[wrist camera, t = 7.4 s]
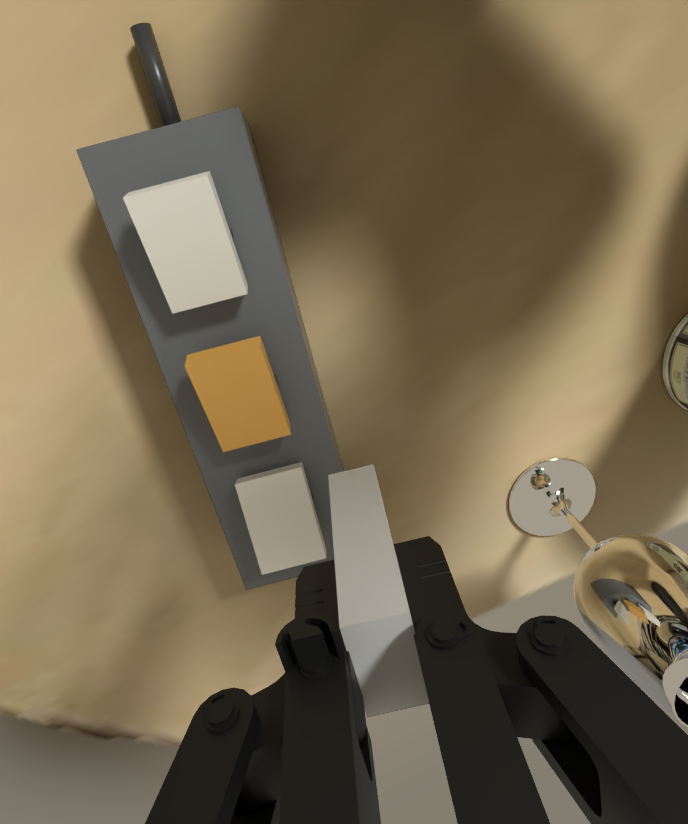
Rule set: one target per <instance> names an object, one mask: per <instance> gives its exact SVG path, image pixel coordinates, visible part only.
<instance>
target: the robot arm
mask: <svg viewBox="0 0 688 824" xmlns="http://www.w3.org/2000/svg"><path fill="white" fill-rule="evenodd" d="M328 479H329V492H330V506H331V519H332V533H333V547H334V560H330V561H326V562H321V563H317V564H313V565H308V566H304V567H303V569H302V571H301V572H300V574H299V576H298V578H297V580H296V598H295V608H296V610H295V619H294V620H292V621H291V622H289V623H288V624H287V625H285V626H284V628H283V629H282V630H281V631H280V633H279V634H278V637H277V640H276V643H275V645H276V648H277V651H278V653H279V656H280V659H281V661H282V664H283V667H284V669H285V674H284V675H283V676H282V677H281V678H280V679H278V680H277V681H276V682H275V683H273V684H272V685H270V686H269V687H267V688H265V689H263V690H261V691H259V692H257V693H256V694H254V695H252V696H251V695H250V694H248V693H247V692H246V691H245V690H243V689H238V688H229V689H224V690H221V691H219V692H217V693H215V694H213V695H212V696H210V697H209V698H208V699H207V700H206V701H205V702H203V703H202V704H201V705H200V707H199V708H198V710H197V711H196V713H195V715H194V716H193V718H192V721H191V723H190V725H189V727H188V729H187V732H186V734H185V736H184V738H183V741H182V743H181V745H180V747H179V749H178V752H177V754H176V756H175V759H174V761H173V763H172V765H171V767H170V769H169V772H168V774H167V776H166V778H165V780H164V783H163V785H162V787H161V789H160V792H159V794H158V796H157V798H156V800H155V803H154V805H153V807H152V809H151V811H150V814H149V816H148V818H147V821H146V823H145V824H381V820H380V812H379V804H378V795H377V787H376V779H375V771H374V762H373V753H372V745H371V739H370V736H369V733H368V730H367V726H366V720H365V712H366V715H367V717H371V716H376V715H380V714H385V713H389V712H393V711H398V710H402V709H407V708H411V707H416V706H420V705H425V704H430V708H431V712H432V716H433V720H434V725H435V729H436V733H437V737H438V742H439V746H440V750H441V754H442V759H443V763H444V767H445V771H446V776H447V779H448V784H449V788H450V793H451V796H452V801H453V805H454V809H455V813H456V818H457V822H458V824H550V822H549V819H548V817H547V814H546V812H545V809H544V807H543V804H542V801H541V799H540V796H539V793H538V791H537V788H536V786H535V783H534V780H533V778H532V775H531V772H530V770H529V767H528V765H527V762H526V759H525V757H524V754H523V752H522V749H521V746H520V744H519V741H518V738H517V737H522V738H531V739H533V742H534V743H535V745H536V746H537V748H538V749H539V750H540V752H541V753H542V755H543V756H544V757H545V759H546V760H547V762H548V763H549V765H550V766H551V768H552V769H553V770H554V772H555V773H556V775H557V776H558V777H559V779H560V780H561V782H562V783H563V785H564V786H565V787H566V789H567V790H568V792H569V793H570V795H571V796H572V797H573V799H574V800H575V801H576V803H577V804H578V806H579V807H580V809H581V810H582V811H583V813H584V814H585V816H586V817H587V819H588V820H589V821H590V823H591V824H688V735H687V734H686V733H685V732H684V731H683V730H682V729H681V728H680V727H679V726H678V725H677V724H676V723H675V722H674V721H672V719H670V717H668V715H666V714H665V713H664V712H663V711H662V710H661V709H660V708H659V707H658V706H657V705H656V704H655V703H654V702H653V701H652V700H651V699H650V698H649V697H648V696H647V695H646V694H645V693H644V692H643V691H642V690H641V689H640V688H639V687H638V686H637V685H636V684H635V683H634V682H633V681H632V680H631V679H630V678H629V677H628V676H627V675H626V674H625V673H624V672H623V671H622V670H621V669H620V668H619V667H618V666H617V665H616V664H614V662H613V661H611V660H610V658H609V657H607V655H605V654H604V653H603V652H602V651H601V650H600V649H599V648H598V647H597V646H596V645H595V644H594V643H593V642H592V641H591V640H590V639H589V638H588V637H587V636H586V635H585V634H584V633H583V632H582V631H581V630H580V629H579V628H578V627H576V626H575V625H574V624H572V623H571V622H569V621H568V620H565V619H562V618H559V617H556V616H539V617H535V618H531V619H529V620H528V621H526V622H525V623H523V624H522V625H521V626H520V628H519V630H518V632H517V633H501V632H494V631H490V630H487V629H484V628H481V627H480V626H478V625H477V624H475V623H474V622H473V621H472V620H471V619H470V618H469V617H468V615H467V613H466V612H465V609H464V606H463V604H462V601H461V598H460V596H459V593H458V590H457V588H456V585H455V582H454V580H453V577H452V575H451V573H450V569H449V567H448V564H447V562H446V559H445V556H444V553H443V551H442V548H441V546H440V545H439V544H438V543H437V542H435V541H434V540H433V539H432V538H431V537H429V536H427V537H423V538H419V539H414V540H410V541H406V542H401V543H397V544H393V541H392V537H391V533H390V529H389V524H388V520H387V516H386V512H385V508H384V504H383V500H382V496H381V492H380V488H379V484H378V480H377V475H376V471H375V467H374V464H372V465H368V466H364V467H360V468H356V469H351V470H347V471H343V472H339V473H335V474H330V475H328ZM364 709H365V710H364Z"/></svg>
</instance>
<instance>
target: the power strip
mask: <svg viewBox="0 0 688 824" xmlns="http://www.w3.org/2000/svg"><path fill="white" fill-rule="evenodd" d="M130 30H131V33H132V36H133V39H134V42H135V45H136V48H137V51H138V54H139V57H140V60H141V63H142V66H143V69H144V73H145V76H146V79H147V82H148V85H149V88H150V91H151V94H152V97H153V100H154V103H155V106H156V109H157V112H158V115H159V118H160V121H161V124H162V127H159V128H156V129H152V130H148V131H144V132H141V133H137V134H133V135H129V136H125V137H122V138H118V139H114V140H110V141H107V142H103V143H99V144H95V145H92V146H88V147H84V148H80V149H77V150H76V151H77V153H78V156H79V158H80V161H81V164H82V166H83V169H84V171H85V174H86V176H87V179H88V182H89V184H90V187H91V189H92V192H93V195H94V197H95V200H96V202H97V205H98V207H99V210H100V213H101V215H102V218H103V220H104V223H105V226H106V228H107V231H108V233H109V236H110V239H111V241H112V244H113V246H114V249H115V251H116V254H117V257H118V259H119V262H120V264H121V267H122V270H123V272H124V275H125V277H126V280H127V282H128V285H129V288H130V290H131V293H132V295H133V298H134V301H135V303H136V306H137V308H138V311H139V313H140V316H141V319H142V321H143V324H144V326H145V329H146V332H147V334H148V337H149V339H150V342H151V345H152V347H153V350H154V352H155V355H156V357H157V360H158V363H159V365H160V368H161V370H162V373H163V376H164V378H165V381H166V383H167V386H168V388H169V391H170V394H171V396H172V399H173V401H174V404H175V407H176V409H177V412H178V414H179V417H180V419H181V422H182V425H183V427H184V430H185V432H186V435H187V438H188V440H189V443H190V445H191V448H192V451H193V453H194V456H195V458H196V461H197V463H198V466H199V469H200V471H201V474H202V476H203V479H204V482H205V484H206V487H207V489H208V492H209V494H210V497H211V500H212V502H213V505H214V507H215V510H216V513H217V515H218V518H219V520H220V523H221V525H222V528H223V531H224V533H225V536H226V538H227V541H228V544H229V546H230V549H231V551H232V554H233V556H234V559H235V562H236V564H237V567H238V569H239V572H240V575H241V577H242V580H243V582H244V585H245V588H246V590H247V589H251V588H255V587H259V586H263V585H267V584H271V583H274V582H278V581H282V580H286V579H290V578H294V577H298V576H299V574H300V572H301V571H302V569H303V567H304V566H308V565H313V564H317V563H321V562H326V561H330V560H334V547H333V533H332V519H331V506H330V492H329V479H328V475H330V474H335V473H339V472H343V471H344V469H343V465H342V462H341V458H340V454H339V451H338V447H337V443H336V440H335V436H334V432H333V429H332V425H331V422H330V418H329V414H328V411H327V407H326V403H325V400H324V396H323V393H322V389H321V385H320V382H319V378H318V374H317V371H316V367H315V364H314V360H313V356H312V353H311V349H310V345H309V342H308V338H307V334H306V331H305V327H304V324H303V320H302V316H301V313H300V309H299V305H298V302H297V298H296V295H295V291H294V287H293V284H292V280H291V276H290V273H289V269H288V266H287V262H286V258H285V255H284V251H283V247H282V244H281V240H280V237H279V233H278V229H277V226H276V222H275V218H274V215H273V211H272V207H271V204H270V200H269V197H268V193H267V189H266V186H265V182H264V178H263V175H262V171H261V168H260V164H259V160H258V157H257V153H256V149H255V146H254V142H253V139H252V135H251V131H250V128H249V124H248V122H247V120H246V118H245V116H244V115H243V113H242V111H241V109H240V107H239V106H238V107H235V108H231V109H227V110H223V111H220V112H216V113H212V114H208V115H205V116H201V117H197V118H193V119H190V120H186V121H182V122H181V119H180V116H179V112H178V109H177V106H176V103H175V100H174V97H173V93H172V90H171V87H170V84H169V81H168V78H167V74H166V71H165V68H164V65H163V62H162V59H161V56H160V52H159V49H158V46H157V43H156V40H155V37H154V33H153V30H152V27H151V24H149V23H139V24H136V25H133V26H132V27H131V28H130ZM208 171H210V173H211V176H212V179H213V182H214V185H215V188H216V191H217V194H218V197H219V200H220V203H221V206H222V209H223V212H224V215H225V218H226V221H227V224H228V227H229V230H230V233H231V236H232V239H233V242H234V245H235V248H236V251H237V254H238V257H239V260H240V263H241V266H242V269H243V272H244V275H245V278H246V281H247V284H248V294H246V295H242V296H238V297H234V298H230V299H227V300H223V301H219V302H215V303H211V304H208V305H204V306H200V307H196V308H192V309H189V310H185V311H181V312H177V313H173V314H172V312H171V309H170V307H169V305H168V302H167V300H166V297H165V295H164V293H163V290H162V288H161V286H160V283H159V281H158V279H157V276H156V274H155V272H154V269H153V267H152V265H151V262H150V260H149V258H148V255H147V253H146V251H145V248H144V246H143V244H142V241H141V239H140V237H139V234H138V232H137V230H136V227H135V225H134V223H133V220H132V218H131V216H130V213H129V211H128V209H127V206H126V204H125V202H124V199H123V197H124V196H125V195H126V194H127V193H128V192H132V191H136V190H140V189H143V188H147V187H151V186H155V185H158V184H162V183H166V182H170V181H174V180H177V179H181V178H185V177H189V176H192V175H196V174H200V173H204V172H208ZM257 336H261V339H262V342H263V345H264V348H265V351H266V354H267V357H268V360H269V363H270V366H271V369H272V371H273V374H274V377H275V380H276V383H277V386H278V389H279V392H280V395H281V398H282V401H283V403H284V406H285V409H286V412H287V415H288V418H289V421H290V429H291V435H288V436H284V437H280V438H276V439H272V440H268V441H265V442H261V443H257V444H253V445H249V446H245V447H241V448H238V449H234V450H230V451H226V452H223V450H222V448H221V446H220V444H219V442H218V439H217V437H216V435H215V433H214V430H213V428H212V426H211V424H210V422H209V419H208V417H207V415H206V413H205V411H204V408H203V406H202V404H201V402H200V399H199V397H198V395H197V393H196V391H195V388H194V386H193V384H192V382H191V380H190V377H189V375H188V373H187V371H186V368H185V362H186V358H187V355H188V354H192V353H196V352H200V351H204V350H207V349H211V348H215V347H219V346H223V345H226V344H230V343H234V342H238V341H242V340H246V339H249V338H253V337H257ZM299 462H302V464H303V468H304V471H305V475H306V478H307V482H308V486H309V489H310V493H311V496H312V500H313V504H314V507H315V511H316V514H317V518H318V521H319V525H320V529H321V532H322V536H323V539H324V543H325V547H326V559H322V560H318V561H314V562H310V563H306V564H302V565H298V566H294V567H291V568H287V569H283V570H279V571H275V572H271V573H267V574H263V575H262V574H261V570H260V567H259V564H258V560H257V557H256V554H255V550H254V547H253V544H252V540H251V537H250V534H249V530H248V527H247V524H246V521H245V517H244V514H243V511H242V507H241V504H240V501H239V497H238V494H237V491H236V487H235V483H236V481H237V479H238V478H242V477H245V476H249V475H253V474H257V473H261V472H265V471H269V470H272V469H276V468H280V467H284V466H288V465H292V464H296V463H299Z"/></svg>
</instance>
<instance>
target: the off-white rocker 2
mask: <svg viewBox="0 0 688 824" xmlns="http://www.w3.org/2000/svg"><path fill="white" fill-rule="evenodd" d="M235 487H236V491H237V494H238V497H239V501H240V504H241V507H242V511H243V514H244V517H245V521H246V524H247V527H248V530H249V534H250V537H251V540H252V544H253V547H254V550H255V554H256V557H257V560H258V564H259V567H260V570H261V574H262V575H263V574H267V573H271V572H275V571H279V570H283V569H287V568H291V567H294V566H298V565H302V564H306V563H310V562H314V561H318V560H322V559H326V547H325V543H324V539H323V536H322V532H321V529H320V525H319V521H318V518H317V514H316V511H315V507H314V504H313V500H312V496H311V493H310V489H309V486H308V482H307V478H306V475H305V471H304V468H303V464H302V462H299V463H296V464H292V465H288V466H284V467H280V468H276V469H272V470H269V471H265V472H261V473H257V474H253V475H249V476H245V477H242V478H238V479H237V481H236V483H235Z"/></svg>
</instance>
